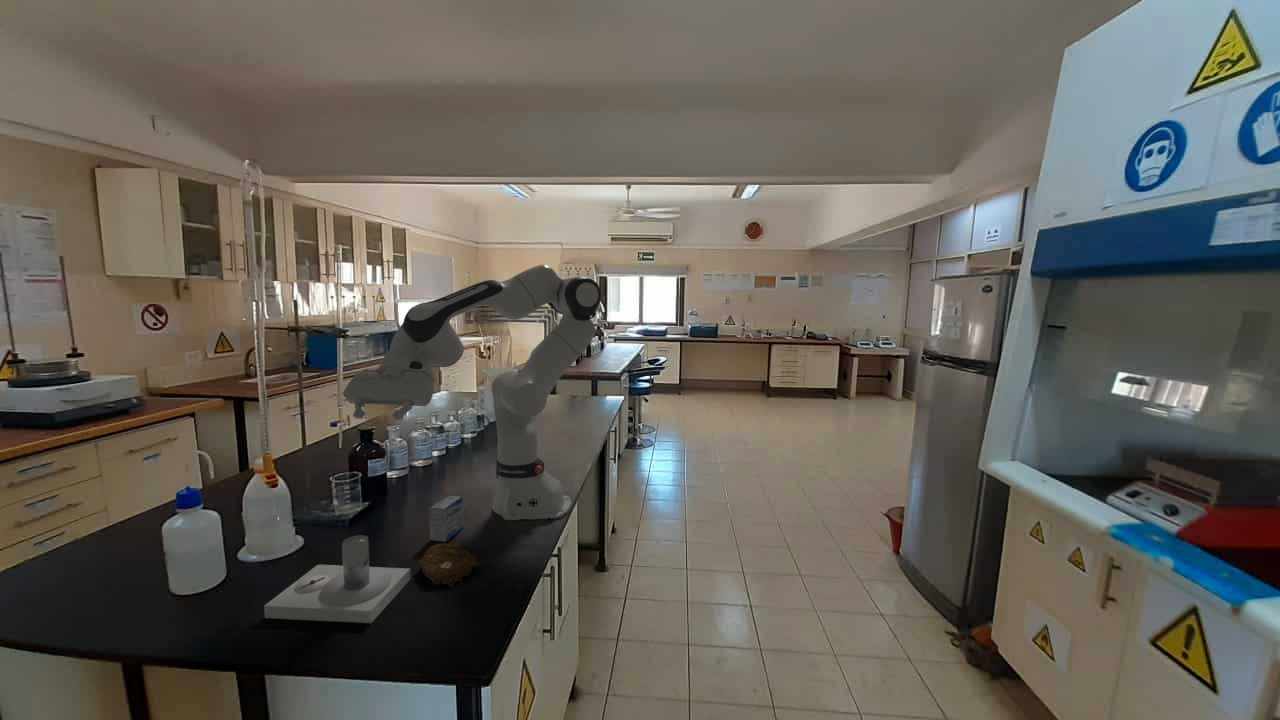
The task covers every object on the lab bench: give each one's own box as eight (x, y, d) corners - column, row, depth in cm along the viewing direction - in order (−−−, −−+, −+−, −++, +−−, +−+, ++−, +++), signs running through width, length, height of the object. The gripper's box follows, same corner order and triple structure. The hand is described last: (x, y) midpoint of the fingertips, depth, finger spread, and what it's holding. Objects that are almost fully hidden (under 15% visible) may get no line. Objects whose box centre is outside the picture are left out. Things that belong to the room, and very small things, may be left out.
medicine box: (445, 542, 116) (444, 509, 115) (429, 540, 117) (428, 507, 116) (463, 528, 124) (463, 496, 123) (448, 526, 125) (447, 494, 124)
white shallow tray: (410, 579, 100) (410, 565, 100) (371, 623, 87) (370, 607, 86) (318, 575, 101) (317, 561, 101) (264, 617, 87) (263, 602, 87)
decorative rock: (408, 565, 107) (434, 598, 96) (407, 549, 106) (433, 580, 96) (458, 546, 115) (487, 574, 104) (457, 530, 114) (486, 557, 103)
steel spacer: (374, 577, 96) (372, 535, 94) (361, 590, 91) (359, 546, 90) (353, 576, 96) (351, 534, 95) (338, 589, 91) (336, 545, 90)
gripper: (352, 361, 117) (326, 409, 108) (433, 364, 116) (414, 412, 108) (363, 377, 122) (340, 423, 113) (442, 379, 121) (424, 426, 113)
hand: (377, 418), depth 111 cm, fingers open, 8 cm apart
